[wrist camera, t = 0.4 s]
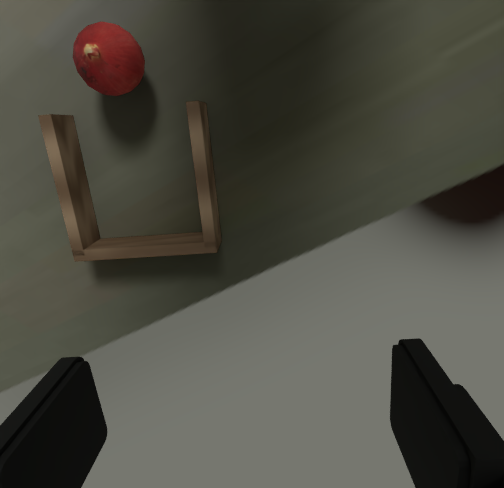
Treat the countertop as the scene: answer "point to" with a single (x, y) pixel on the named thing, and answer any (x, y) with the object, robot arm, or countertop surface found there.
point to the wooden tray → (81, 208)
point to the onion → (108, 58)
